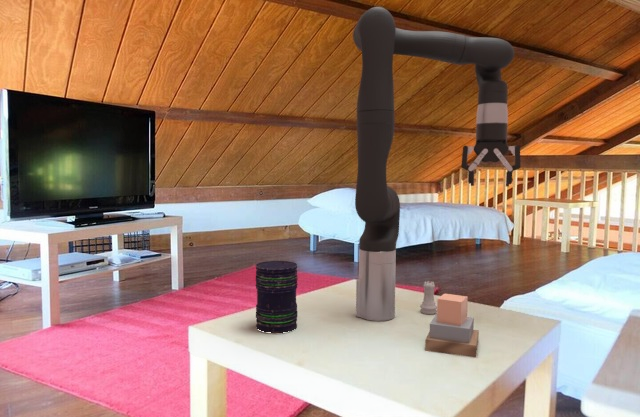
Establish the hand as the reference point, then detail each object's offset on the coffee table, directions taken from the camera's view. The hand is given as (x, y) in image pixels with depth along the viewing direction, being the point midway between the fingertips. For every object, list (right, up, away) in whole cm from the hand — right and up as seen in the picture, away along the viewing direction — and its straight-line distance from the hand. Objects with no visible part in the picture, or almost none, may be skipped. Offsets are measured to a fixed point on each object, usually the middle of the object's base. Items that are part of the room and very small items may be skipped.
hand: (489, 186), depth 124 cm
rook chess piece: (-15, -33, +2) cm, 37 cm away
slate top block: (-16, -33, -22) cm, 42 cm away
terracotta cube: (-16, -30, -22) cm, 40 cm away
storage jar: (-54, -34, -10) cm, 65 cm away
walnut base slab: (-15, -36, -22) cm, 44 cm away
